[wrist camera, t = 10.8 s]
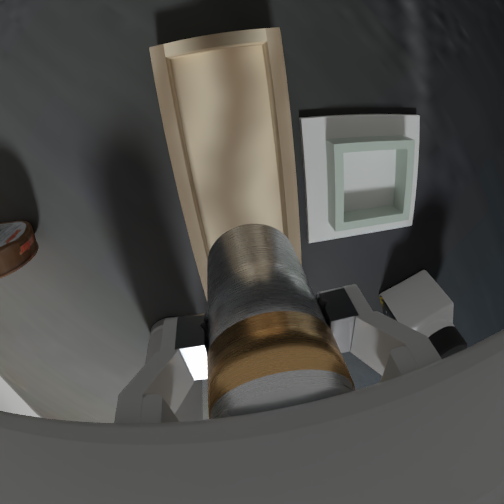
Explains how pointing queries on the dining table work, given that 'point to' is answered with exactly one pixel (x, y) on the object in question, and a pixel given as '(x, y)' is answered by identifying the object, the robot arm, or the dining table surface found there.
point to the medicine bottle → (424, 311)
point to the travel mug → (193, 400)
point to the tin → (16, 246)
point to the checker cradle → (359, 173)
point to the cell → (265, 328)
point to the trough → (229, 134)
